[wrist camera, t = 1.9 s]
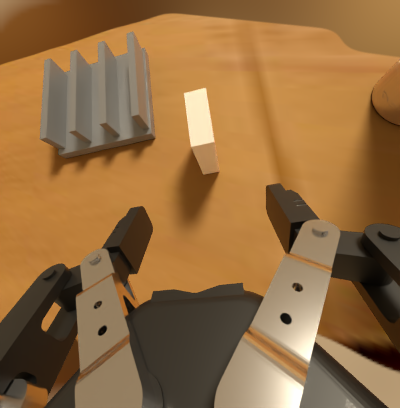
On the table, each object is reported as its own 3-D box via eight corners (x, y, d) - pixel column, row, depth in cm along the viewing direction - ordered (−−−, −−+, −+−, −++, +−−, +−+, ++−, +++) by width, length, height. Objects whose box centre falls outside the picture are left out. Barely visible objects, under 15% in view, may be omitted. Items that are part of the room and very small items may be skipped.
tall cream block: (219, 171, 28) (214, 141, 19) (203, 174, 28) (191, 146, 20) (213, 132, 29) (205, 87, 21) (197, 135, 30) (184, 93, 21)
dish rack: (155, 138, 31) (141, 119, 26) (65, 158, 34) (37, 145, 29) (148, 55, 35) (134, 26, 30) (67, 79, 37) (43, 56, 32)
